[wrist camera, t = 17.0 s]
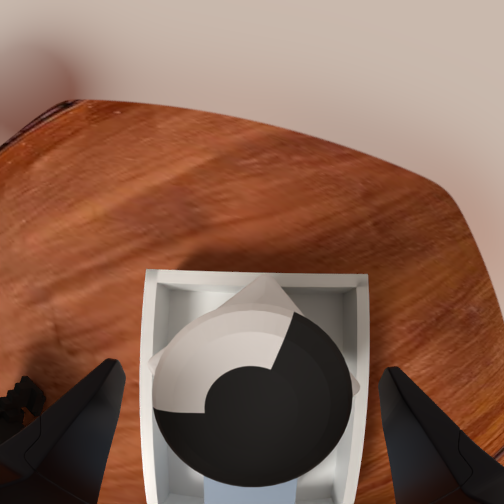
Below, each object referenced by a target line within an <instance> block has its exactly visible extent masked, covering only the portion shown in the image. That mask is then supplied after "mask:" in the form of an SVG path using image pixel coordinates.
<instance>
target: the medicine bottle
mask: <svg viewBox="0 0 504 504" xmlns="http://www.w3.org/2000/svg"><path fill="white" fill-rule="evenodd" d="M147 366H148V368H149V370H150V371H151V373H152V374H153V376H154V379H153V386H152V403H153V410H154V415H155V419H156V422H157V425H158V427H159V430H160V432H161V434H162V436H163V437H164V439H165V441H166V443H167V444H168V445H169V447H170V448H171V449H172V451H173V452H174V453H175V454H176V455H177V456H178V457H179V458H180V459H181V460H182V461H183V462H184V463H185V464H187V465H188V466H189V467H191V468H192V469H193V470H195V471H196V472H198V473H200V474H202V475H203V476H205V477H207V478H210V479H212V480H215V481H217V482H220V483H224V484H228V485H232V486H239V487H266V486H273V485H277V484H281V483H285V482H288V481H290V480H293V479H296V478H298V477H300V476H302V475H304V474H305V473H307V472H309V471H310V470H312V469H313V468H315V467H316V466H317V465H319V464H320V463H321V462H322V461H323V460H324V459H325V458H326V457H327V456H328V455H329V454H330V453H331V452H332V451H333V449H334V448H335V447H336V445H337V444H338V442H339V441H340V439H341V437H342V435H343V434H344V432H345V429H346V427H347V424H348V421H349V418H350V414H351V409H352V398H353V397H354V396H355V395H356V394H357V393H358V392H359V390H360V384H359V382H358V381H357V380H356V378H355V377H354V376H353V375H352V373H351V372H350V371H349V369H348V366H347V364H346V361H345V359H344V357H343V355H342V353H341V352H340V350H339V348H338V347H337V345H336V344H335V343H334V341H333V340H332V339H331V338H330V336H329V335H328V334H327V333H326V332H324V331H323V330H322V329H321V328H320V327H319V326H318V325H316V324H315V323H314V322H312V321H311V320H309V319H308V318H306V317H305V316H304V315H303V314H302V312H301V311H300V310H299V309H298V307H297V306H296V305H295V304H294V302H293V301H292V300H291V299H290V298H289V296H288V295H287V294H286V293H285V291H284V290H283V289H282V288H281V287H280V285H279V284H278V283H277V282H276V280H275V279H274V278H273V277H272V276H271V275H269V274H262V275H260V276H259V277H258V278H256V279H255V280H254V281H252V282H251V283H250V284H249V285H247V286H246V287H245V288H243V289H242V290H241V291H239V292H238V293H237V294H235V295H234V296H233V297H232V298H230V299H229V300H228V301H226V302H225V303H224V304H222V305H221V306H220V307H218V308H217V309H216V310H213V311H210V312H208V313H206V314H204V315H202V316H200V317H198V318H196V319H195V320H193V321H192V322H191V323H189V324H188V325H186V326H185V327H184V328H183V329H182V330H181V331H180V332H179V333H177V334H176V335H175V337H174V338H173V339H172V340H171V342H170V343H169V344H168V345H167V346H166V347H165V348H163V349H162V350H161V351H159V352H158V353H156V354H155V355H154V356H152V357H151V358H150V359H149V360H148V363H147Z"/></svg>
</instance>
